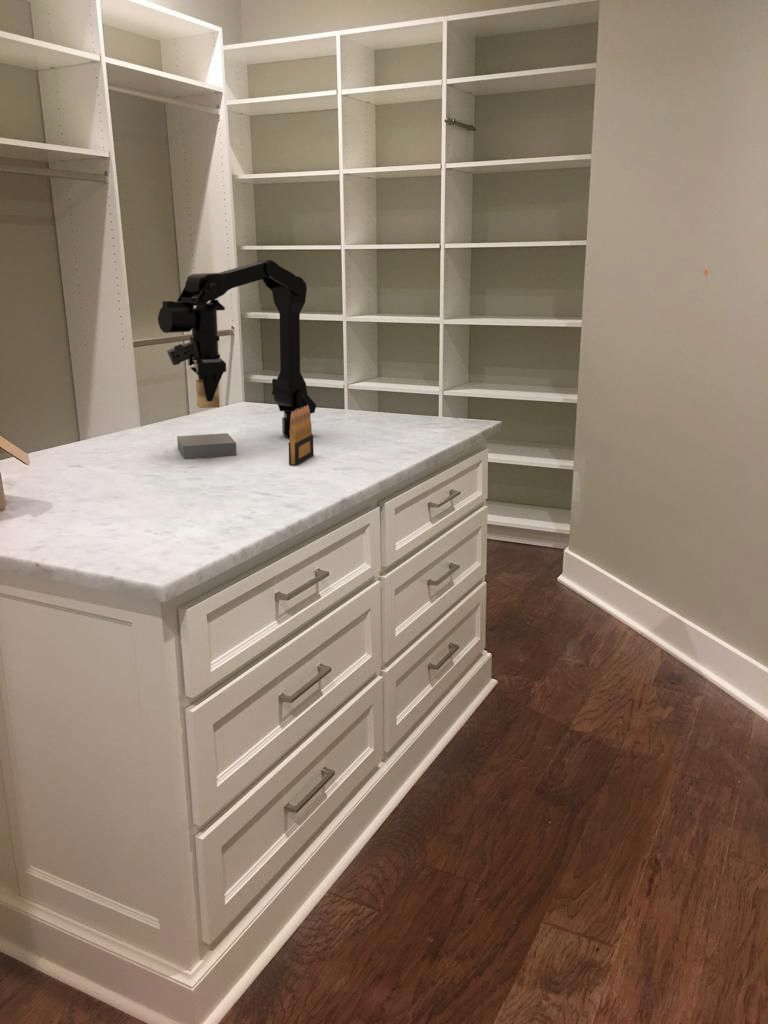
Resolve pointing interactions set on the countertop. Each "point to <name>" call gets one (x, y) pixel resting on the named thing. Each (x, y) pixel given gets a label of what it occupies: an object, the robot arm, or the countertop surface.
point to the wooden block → (201, 396)
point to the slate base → (206, 445)
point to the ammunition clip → (300, 436)
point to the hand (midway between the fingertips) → (207, 399)
